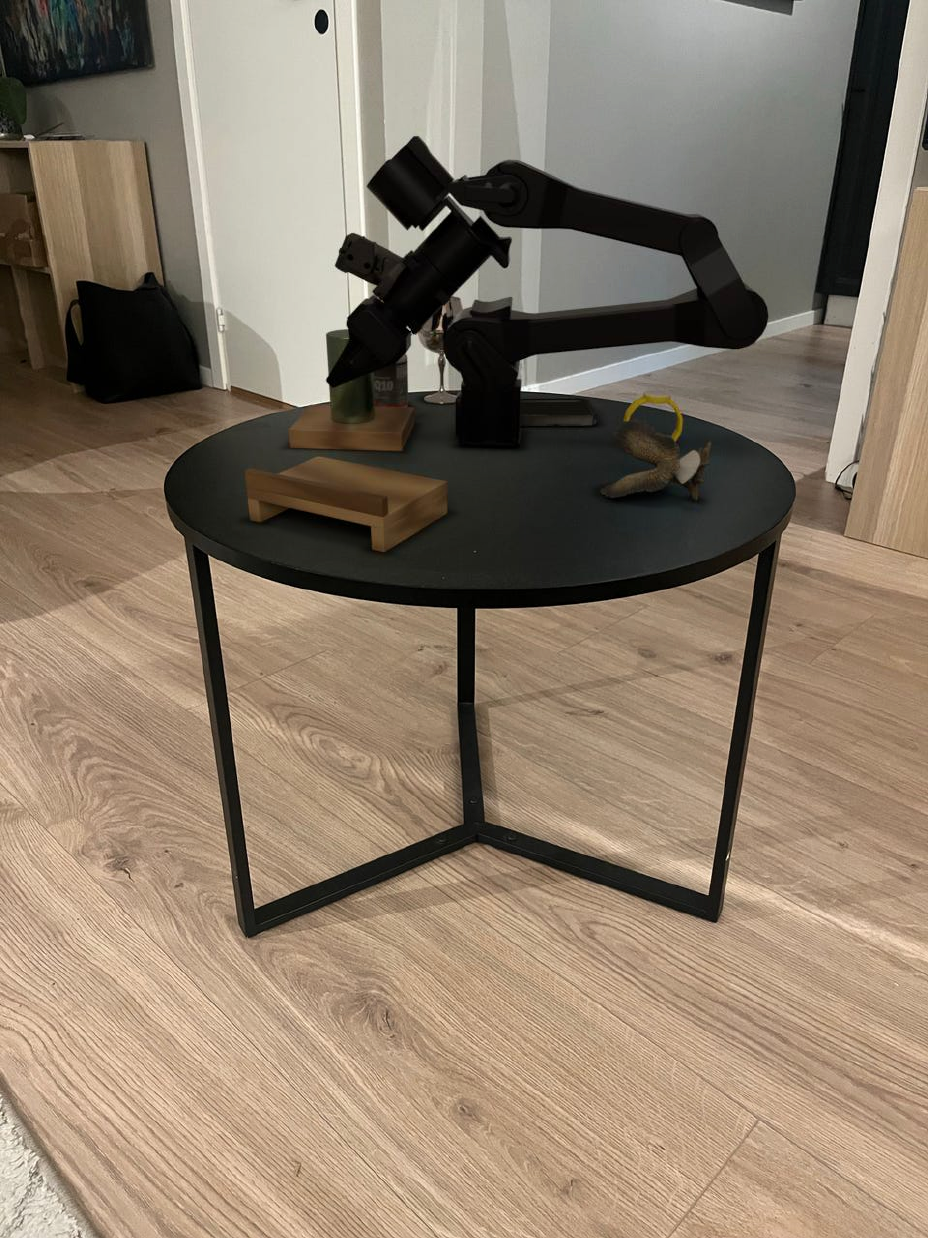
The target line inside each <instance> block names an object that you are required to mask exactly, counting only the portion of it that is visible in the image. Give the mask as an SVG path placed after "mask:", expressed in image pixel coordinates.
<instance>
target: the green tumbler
mask: <svg viewBox="0 0 928 1238" xmlns="http://www.w3.org/2000/svg"><path fill="white" fill-rule="evenodd" d="M325 341H326V355H327V356H326V357H327V358H326V359H327V360H326V361H327V376H328V375H329V374H330V372H331V370H332V369H333V367H334V365H335V364H336V362H337V360H338V359H339V357H340V355H341V354H342V352H343V350H344V349H345V347H346V345H347V343H348V342H349V334H348V328H345V329H343V328H342V329H335V330H331V331H328V332H326V333H325ZM328 391H329V405H330V408H331V419H332V420H333V421H335V422H338V423H344V424H359V423H366V422H369V421H372V420H374V419H375V395H374V372H372V373H369V374H367V375H364V376H362V377H359V378H357V379H354V380H352V381H349V382H347V383H344V384H342V385H340V386H337V387H335V388H332V387H331V386H330V385H329V384H328Z"/></svg>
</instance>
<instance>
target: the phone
mask: <svg viewBox="0 0 928 1238" xmlns="http://www.w3.org/2000/svg"><path fill="white" fill-rule="evenodd" d="M597 419H598V412H597V410H596V409H595V407H594V405H593V404H592V402H591V400H590V399H587V398H575V397H574V398H521V409H520V427H524V426H525V427H531V426H532V427H546V426H547V427H553V426H556V427H557V426H560V427H562V426H576V427H579V426H594V425H597V421H598V420H597Z"/></svg>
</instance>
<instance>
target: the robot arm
mask: <svg viewBox="0 0 928 1238" xmlns="http://www.w3.org/2000/svg"><path fill="white" fill-rule="evenodd" d="M366 188H367V189H368V191H369V192H370V193H371V194H372V195H373V196H374V197H375V198H376V199H377V200H378V201H379V202H380V203H381V204H382V205H383V206H384V208H385V209H386V210H387V211H388V212H389V213H390V214H391V216H393V218H395V220H397V221H398V223H399V224H400V225H401V226H402V227H403V228H404V229H405V230H406V231H409V230H410V229H411V228H412V227H413V228H414V229H417V228H418V230H420V231H421V232H423V231H424V230H425V229H427V228H428V226H429V225H430V224H431V223H432V222H433V221H434V220H435V219H436V218H437V217H438V215H440V214H441V212H443V210H444V209H445V208H446V207H447V209H448V210H449V211H450V212H449V213H448V214H447V215H446V216H445V217H444V218H443V220H441V222H440V223H439V224H438V225H436V227H435V228H434V229H433V230H432V231H431V232H430V233H429V234H428V235H427V236H426V237H425V238H424V240H423V241H422V242H421V243H420V244H419V245H418V246H417V247H416V248H415V249H414V251H413V249H410V250H409V252H408V253H406V254H405V255H404V256H403V257H402V256H400V255H398V254H397V253H394V252H393V251H391V250H390V249H388V248H386V247H385V246H382V245H380V244H378V242H376V241H372V240H370V239H368V238H367V237H366V236H365V235H361V234H358V233H355V232H351V233H349V234H347V235H345V237H344V240H343V242H342V244H341V247H340V248H339V249H338V255H337V258H336V261H335V263H334V267H335V268H336V269H337V270H338V271H339V272H340V271H341V272H343V273H344V274H348V273H349V274H351V275H353V276H355V277H357V278H359V279H361V280H363V281H365V282H367V283H369V284H371V285H373V286H375V287H374V288H373V289H372V290H371V292H372V295H370V296H369V298H365V299H363V300H362V301H361V302H360V303H359V304H358V305H357V306H356V307H355V308H354V309H353V311H352V312H351V313H350V314H349V315H348V316H347V317H346V322H345V324H346V329H348V334H349V342H348V343H347V345H346V347H345V349H344V350H343V352H342V354H341V355H340V357H339V359H338V360H337V362H336V364H335V365H334V367H333V369H332V370H331V372H330V374H329V375H328V374H327V376H326V378H325V382H326V383H327V384H328V386H329V385H330V386H331V387H332V388H335V387H337V386H340V385H342V384H344V383H347V382H349V381H352V380H354V379H357V378H359V377H362V376H364V375H367V374H369V373H372V372H375V371H377V370H380V369H383V368H385V367H390V366H391V365H395V364H396V363H397V362H398V361H399V359H400V358H401V357H402V356H403V355H404V354H405V353H406V354H407V353H408V351H409V349H410V348H411V347H412V335H413V336H414V335H415V336H416V335H418V332H419V331H420V330H421V329H422V328H423V326H424V325H425V323H426V322H427V321H428V320H429V319H430V318H431V317H432V316H433V315H434V314H435V313H436V312H437V311H438V310H439V309H440V308H441V307H442V306H444V305H445V304H446V303H447V302H448V301H449V300H450V299H451V298H452V296H455V294H456V293H457V292H458V291H459V290H460V288H462V287H463V285H464V284H465V283H466V282H467V281H468V280H469V279H470V278H471V277H473V275H475V273H476V272H477V271H479V269H480V268H481V267H482V266H483V265H484V264H485V263H486V262H487V260H489V259H490V258H491V257H492V258H493V259H494V261H496V263H498V265H499V266H500V267H501V268H502V269H507V268H508V267H509V265H510V261H511V257H510V256H511V255H510V249H511V245H512V243H513V237H512V236H500V235H499V234H498V233H497V232H496V231H495V230H494V229H493V227H492V226H491V225H490V224H489V223H488V222H487V221H486V220H485V219H484V217H483V216H481V215H479V216H478V217H477V218H476V219H475V220H474V221H473V219H472V218H471V217H470V216H468V214H467V213H466V212H465V211H464V210H463V209H462V208H461V207H460V206H462V207H465V208H471V209H474V210H479V211H483V213H484V215H485V216H486V218H487V220H489V221H490V222H491V223H492V224H495V225H497V226H499V227H502V228H509V229H529V230H530V229H532V230H571V231H572V230H573V231H576V232H579V233H584V234H589V235H592V236H597V237H601V238H605V239H609V240H613V241H617V242H622V243H625V244H630V245H634V246H639V247H642V248H647V249H651V250H654V251H659V252H663V253H667V254H671V255H676V256H679V257H681V258H682V260H683V262H684V264H685V267H686V269H687V271H688V273H689V275H690V277H691V280H692V281H693V283H694V285H695V287H696V288H693V289H691V290H688V291H686V292H683V293H681V294H679V295H676V296H674V297H671V298H667V299H661V300H660V299H659V300H651V301H642V302H641V301H640V302H632V303H622V304H611V305H602V306H601V305H600V306H594V307H582V308H573V309H564V310H555V311H545V312H534V313H533V312H525V311H520V310H515V309H513V301H514V300H513V299H514V298H513V297H512V296H508V297H507V296H506V297H503V298H499V299H495V300H492V301H483V300H479V299H474V300H473V302H472V304H471V306H470V307H465V308H463V310H461V311H460V312H459V313H458V314H457V315H456V316H455V317H454V319H453V320H452V321H451V323H450V325H449V327H448V329H447V331H446V334H445V337H444V340H443V350H444V357H445V360H447V362H448V364H449V365H450V366H451V367H452V368H453V369H455V370H456V371H457V372H458V373H460V375H461V376H460V377H461V378H462V380H461V383H460V391H459V392H458V393H457V394H456V396H457V397H456V402H455V436H457V437H459V439H458V446H460V447H480V448H481V447H485V448H486V447H487V448H520V447H521V439H522V438H521V437H522V426H520V409H521V399H522V379H521V378H518V377H519V374H520V373H519V372H520V365H521V361H522V360H526V359H528V358H530V357H533V356H538V355H548V354H558V353H569V352H579V351H589V350H598V349H609V348H618V347H628V346H639V345H640V346H641V345H650V344H659V343H669V342H671V343H679V344H685V345H690V346H696V347H701V348H707V349H709V348H710V349H720V350H721V349H723V350H741V349H745V348H749V347H751V346H753V345H754V344H755V343H756V342H757V341H758V340H759V338H760V337H761V336H762V335H763V334H764V333H765V330H766V328H767V327H768V321H769V311H768V306H767V304H766V302H765V300H764V298H763V297H762V296H761V295H759V293H758V292H756V291H755V290H754V289H753V288H751V286H749V285H748V284H747V283H745V282H744V281H743V279H742V277H741V275H740V273H739V271H738V270H737V268H736V266H735V264H734V262H733V261H732V259H731V257H730V255H729V253H728V252H727V250H726V247H725V246H724V244H723V242H722V241H721V238H720V236H719V231H718V229H717V226H716V224H714V222H713V221H712V220H711V219H709V218H707V217H706V216H703V215H702V214H699V213H683V212H679V211H675V210H670V209H667V208H663V207H659V206H654V205H651V204H646V203H642V202H637V201H634V200H630V199H626V198H621V197H618V196H613V195H609V194H605V193H601V192H597V191H592V190H588V189H584V188H581V187H578V186H576V185H574V184H571V183H569V182H567V181H565V180H563V179H560V178H559V177H557V176H554V175H552V174H550V173H548V172H546V171H544V170H542V169H540V168H538V167H535V166H533V165H530V164H529V163H527V162H525V161H522V160H519V159H504V160H501V161H499V162H498V163H497V164H495V165H493V166H492V167H491V168H489V170H487V172H486V173H485V174H483V175H475V176H469V177H468V176H467V174H464V175H462V176H460V178H456V179H455V178H454V177H453V176H452V175H451V174H450V172H449V171H448V170H447V168H445V167H444V165H443V164H442V163H441V162H440V161H439V160H438V159H437V158H436V157H435V155H433V153H432V151H431V150H430V148H429V146H428V145H427V144H426V142H425V141H424V140H423V139H422V138H421V136H419V135H413V136H412V137H411V138H410V139H409V141H408V142H407V143H406V144H405V145H403V147H401V148H400V149H399V150H398V151H397V152H396V153H395V154H394V155H393V156H392V157H391V158H390V159H387V160H385V162H384V163H383V164H382V165H381V166H380V167H379V169H378V170H377V171H376V172H375V174H374V175H373V176H372V178H371V179H370V180H369V182H368V183H367V185H366ZM454 199H455V200H454ZM455 201H456V202H455ZM457 203H458V204H459V205H460V206H459V205H458V204H457Z"/></svg>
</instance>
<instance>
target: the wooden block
mask: <svg viewBox="0 0 928 1238" xmlns="http://www.w3.org/2000/svg"><path fill="white" fill-rule="evenodd" d="M414 425H415V407H414V406H411V407H410V406H408V407H377V406H375V419H374V420H372V421H369V422H366V423H359V424H344V423H338V422H335V421H333V420H332V419H331V408H330V404H329V405H328V404H326V405H325V404H309V405H308V406H307V407H306V409H305V410H303V412H302V413H301V414H300V416H299V417H298V418H297V419H296V420H295V421H294V422H293V424H292V425H291V426H290V427H289V428H288V441H289V449H313V450H314V449H315V450H316V449H318V450H349V451H351V450H352V451H384V452H385V451H387V452H389V451H390V452H403V450H404V448H405V445H406V443H407V441H408V439H409V437H410V435H411V433H412V430H413V429H414Z"/></svg>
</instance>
